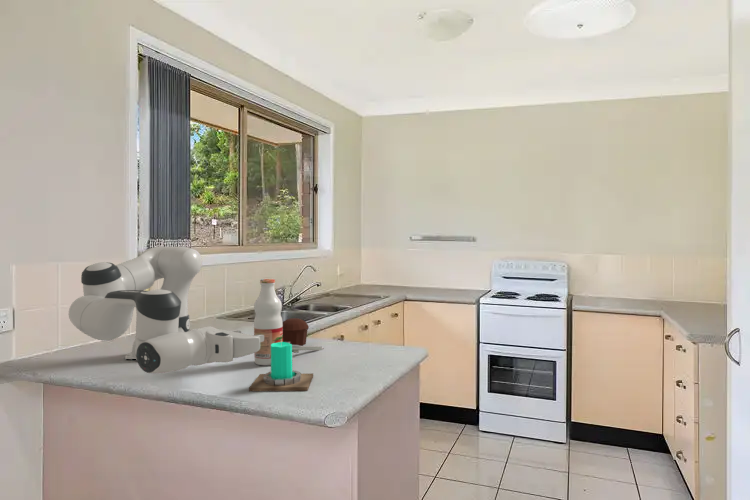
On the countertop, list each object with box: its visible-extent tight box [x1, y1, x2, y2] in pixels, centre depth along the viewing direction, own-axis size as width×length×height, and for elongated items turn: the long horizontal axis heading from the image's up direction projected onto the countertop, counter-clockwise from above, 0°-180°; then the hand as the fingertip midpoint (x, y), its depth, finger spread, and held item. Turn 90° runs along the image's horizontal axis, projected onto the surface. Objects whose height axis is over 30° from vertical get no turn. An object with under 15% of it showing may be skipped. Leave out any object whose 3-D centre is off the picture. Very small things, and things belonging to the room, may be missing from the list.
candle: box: [270, 339, 293, 379], centre depth 150 cm, size 6×6×12 cm
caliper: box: [286, 342, 324, 354], centre depth 188 cm, size 20×1×6 cm, turn 145°
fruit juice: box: [253, 278, 284, 367], centre depth 175 cm, size 9×9×28 cm
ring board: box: [248, 373, 314, 392], centre depth 150 cm, size 16×14×1 cm
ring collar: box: [264, 369, 302, 386], centre depth 150 cm, size 10×10×2 cm
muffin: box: [282, 317, 310, 346], centre depth 204 cm, size 12×11×10 cm
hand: (250, 335), depth 141 cm, fingers open, 8 cm apart
